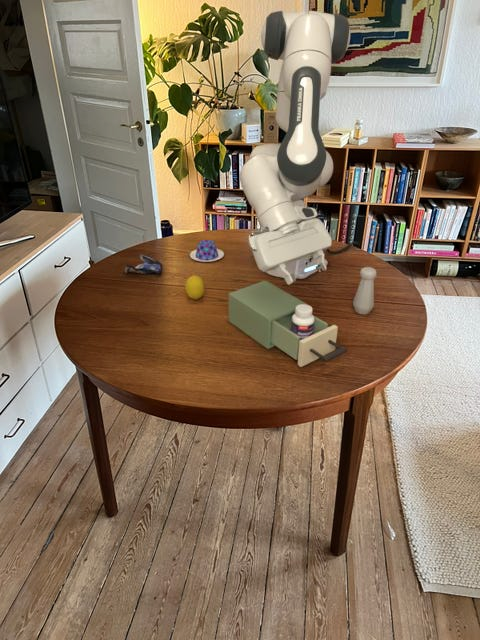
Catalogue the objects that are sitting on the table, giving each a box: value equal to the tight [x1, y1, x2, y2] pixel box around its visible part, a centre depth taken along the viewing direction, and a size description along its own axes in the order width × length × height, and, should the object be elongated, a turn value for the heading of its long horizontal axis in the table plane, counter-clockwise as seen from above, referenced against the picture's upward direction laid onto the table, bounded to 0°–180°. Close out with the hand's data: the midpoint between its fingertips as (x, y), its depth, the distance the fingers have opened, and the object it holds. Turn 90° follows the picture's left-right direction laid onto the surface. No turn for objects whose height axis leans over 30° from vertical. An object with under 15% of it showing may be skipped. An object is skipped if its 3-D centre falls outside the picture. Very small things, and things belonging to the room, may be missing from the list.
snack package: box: [123, 254, 163, 275], centre depth 152 cm, size 12×6×12 cm
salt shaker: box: [352, 266, 378, 315], centre depth 128 cm, size 6×6×13 cm
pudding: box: [189, 239, 225, 263], centre depth 162 cm, size 12×12×5 cm
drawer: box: [270, 312, 348, 368], centre depth 112 cm, size 21×11×7 cm, turn 37°
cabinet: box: [227, 280, 308, 350], centre depth 122 cm, size 17×13×9 cm
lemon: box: [184, 274, 205, 301], centre depth 135 cm, size 6×6×8 cm
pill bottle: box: [291, 304, 315, 340], centre depth 112 cm, size 5×5×10 cm
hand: (308, 277), depth 104 cm, fingers open, 8 cm apart
